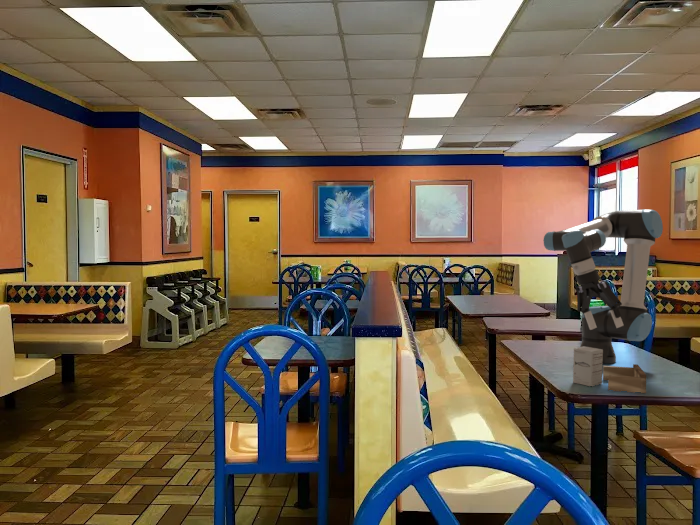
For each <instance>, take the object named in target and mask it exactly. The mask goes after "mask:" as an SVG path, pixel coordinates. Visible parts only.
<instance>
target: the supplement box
mask: <svg viewBox="0 0 700 525" xmlns="http://www.w3.org/2000/svg"><path fill="white" fill-rule="evenodd" d="M572 362H573V363H572V364H573V369H572V373H573V374H572V382H573V384H578V385H583V386H587V387H590V386H592V387H596V386H599V384H600V385H602V383H603V364H602V362H603V349H597V348H591V347H585V346H583V347H580V346H579V347H574V348H573V361H572ZM595 385H596V386H595Z"/></svg>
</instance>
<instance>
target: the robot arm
mask: <svg viewBox="0 0 700 525" xmlns="http://www.w3.org/2000/svg"><path fill="white" fill-rule="evenodd" d="M663 231H664V227H663V220H662V217H661V215H660V213H659V212H658V211H657V210H654V209H645V208H643V209H629V210H628V209H627V210H624V209H623V210H622V209H621V210H615V211H612V212H608V213H605V214H602V215H599V216H596V217H594V218H593V219H592V220H590V221H588V222H585V223H582V224H578V225H575V226H572V227H569V228H565V229H562V230H559V231H555V230H553V231H548V232H546V233H545V234H544V236H543V246H544V248H545V249H546V250H547V251H554V252H556V251H557V252H561V251H562V252H566V254H567V257H568V260H569V262H570V265H571V268H572V271H573V273H574V275H576V276H575V279H576V282H577V284H578V285H579V286H577V287H575V291H576V297H577V298H576V302H577V303H576V304H577V306H576V308H577V312H581V314H582V315H581V316H582V317H581V320H582V321H581V343H580V346H579V347H583V346H585V347H591V348H597V349H603V362H602V365H605V364H614V363H616V362H617V361H616V360H617V356H616V355H617V354H616V353H615V350H614V346H613V342H612V339H617V340H624V341H625V340H626V341H629V342H631V341H633V342H634V341H635V342H642V341H644V340H646V338H647V337H648V336H649V334H650V333H651V330H652V325H653V320H652V316H651V314H649V313H648V308H647V307H646V306H645V295H646V287H647V278H648V269H649V261H650V254H651V253H650V251H651V247H652V246H654V245H655V244H656V239H659V238H660V237H661V236H662V234H663ZM607 238H614V239H615V238H616V239H617V238H618V239H619V238H620V239H623V242H624V243H625V244H626V252H625V253H626V254H625V260H624V261H625V262H624V269H623V279H622V287H621V294H620V299H619V298H618V297H617V296H616V294H615V293H614V291H612V289H611V288H610V286H609V285H608V282H607V281H602V282H600V281H599V280H600V276H599V273H598V270H597V269H596V264H595V261H594V258H593V257H592V255H591V254H592V252H594V251H598V250H599V249H601V248H603V247H604V246H605V244H606V242H607ZM594 297H596V298H599V300H601V301H602V302H603V303H604V304H605V305H599V306H590V305H591V300H592V298H594Z"/></svg>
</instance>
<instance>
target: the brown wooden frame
mask: <svg viewBox="0 0 700 525" xmlns="http://www.w3.org/2000/svg"><path fill="white" fill-rule="evenodd" d="M602 381H607V384H608V385H607V390H608V391H609V390H613V391H612V392H621V391H627V392H626V393H635V392H641V393H640V394H647V373H646V372H645V371H644V370H643V369H642V368H641V366H639V364H634V363H633V365H632V366H631V367H629V366H615V365H614V366H613V365H602Z"/></svg>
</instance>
